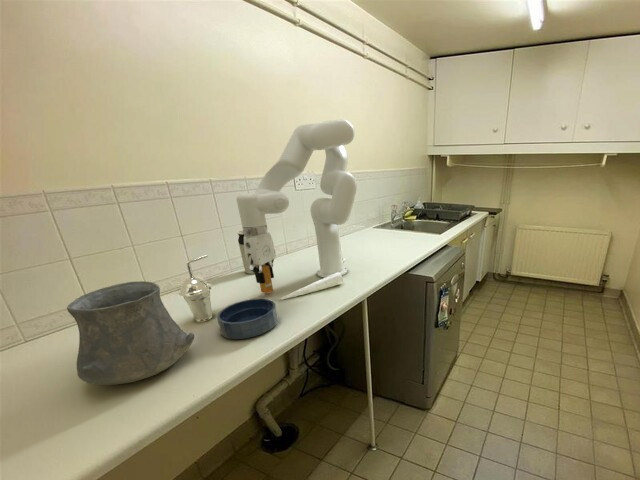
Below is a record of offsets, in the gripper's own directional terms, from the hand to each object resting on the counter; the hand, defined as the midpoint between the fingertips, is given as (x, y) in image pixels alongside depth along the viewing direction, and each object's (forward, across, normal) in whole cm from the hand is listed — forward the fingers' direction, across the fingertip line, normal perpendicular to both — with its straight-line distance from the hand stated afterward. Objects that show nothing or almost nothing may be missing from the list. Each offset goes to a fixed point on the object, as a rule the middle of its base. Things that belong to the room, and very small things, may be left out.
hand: (265, 279), depth 112 cm
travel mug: (+6, +20, +22) cm, 30 cm away
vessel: (+6, -43, +1) cm, 43 cm away
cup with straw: (+6, -20, +8) cm, 22 cm away
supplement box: (+5, 0, 0) cm, 5 cm away
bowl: (+6, -21, -10) cm, 24 cm away
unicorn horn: (+6, +6, -16) cm, 18 cm away
